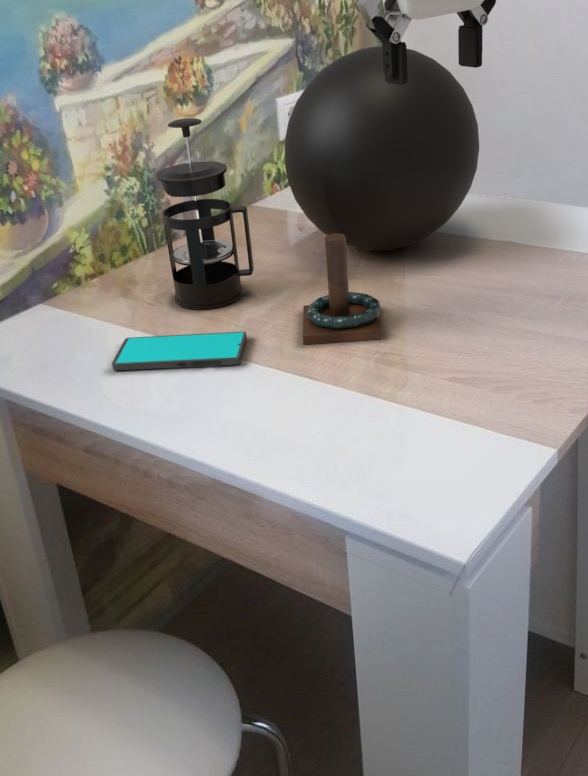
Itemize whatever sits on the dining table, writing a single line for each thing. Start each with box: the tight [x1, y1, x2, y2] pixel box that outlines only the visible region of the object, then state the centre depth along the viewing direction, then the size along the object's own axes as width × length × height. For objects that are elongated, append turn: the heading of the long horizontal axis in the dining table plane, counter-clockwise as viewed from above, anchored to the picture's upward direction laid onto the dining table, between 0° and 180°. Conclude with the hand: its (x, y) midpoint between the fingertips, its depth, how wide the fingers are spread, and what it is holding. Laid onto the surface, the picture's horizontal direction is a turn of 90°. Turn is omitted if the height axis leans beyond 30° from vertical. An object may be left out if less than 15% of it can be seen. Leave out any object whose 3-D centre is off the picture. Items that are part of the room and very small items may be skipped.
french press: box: [155, 117, 255, 311], centre depth 113 cm, size 12×9×23 cm
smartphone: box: [111, 331, 248, 371], centre depth 104 cm, size 7×1×15 cm
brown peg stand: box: [302, 233, 381, 345], centre depth 104 cm, size 9×9×11 cm
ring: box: [307, 291, 382, 329], centre depth 106 cm, size 9×9×1 cm
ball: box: [284, 45, 480, 252], centre depth 123 cm, size 27×27×27 cm
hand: (433, 74), depth 94 cm, fingers open, 9 cm apart
